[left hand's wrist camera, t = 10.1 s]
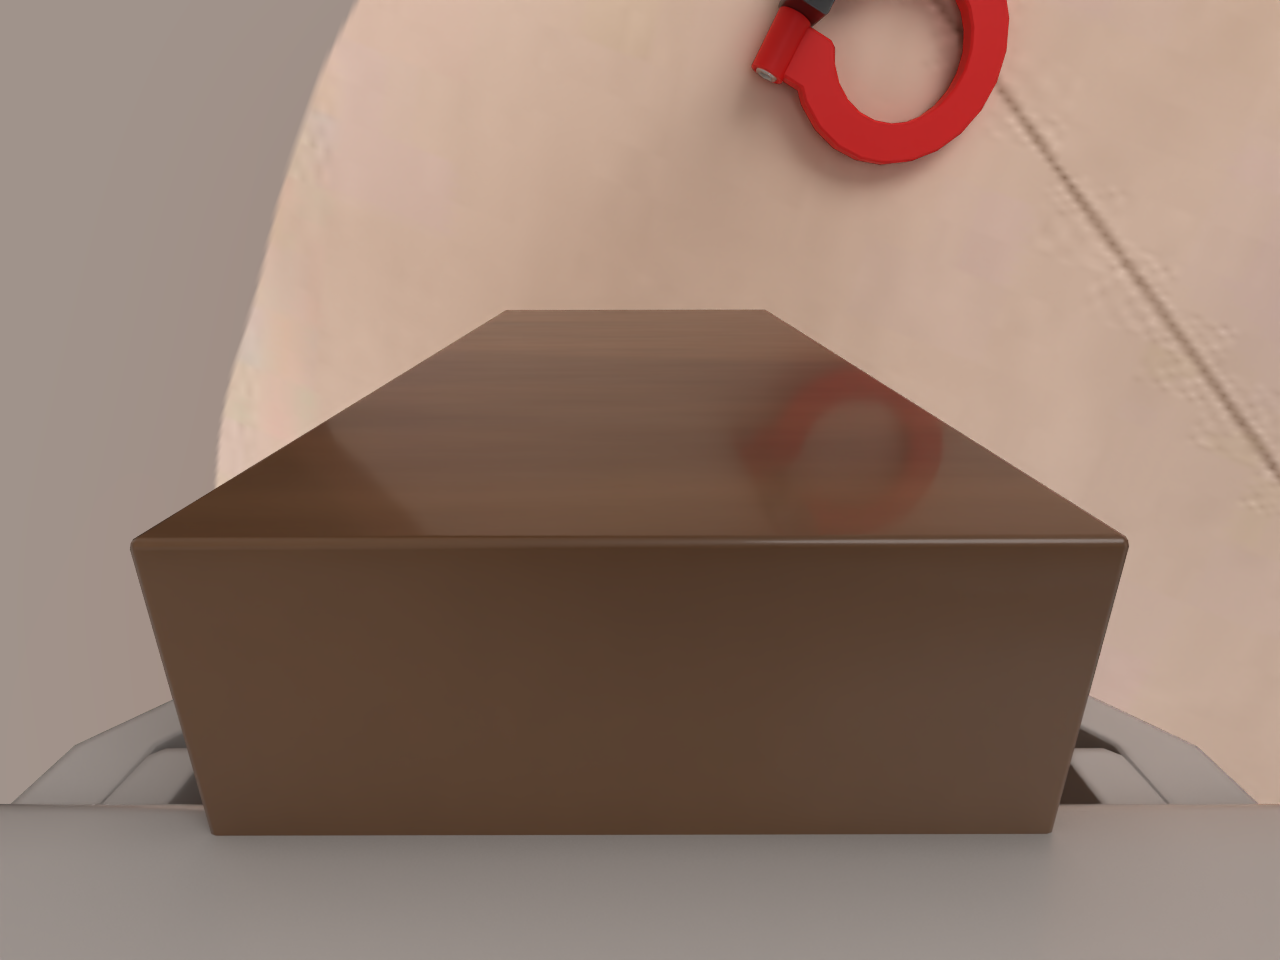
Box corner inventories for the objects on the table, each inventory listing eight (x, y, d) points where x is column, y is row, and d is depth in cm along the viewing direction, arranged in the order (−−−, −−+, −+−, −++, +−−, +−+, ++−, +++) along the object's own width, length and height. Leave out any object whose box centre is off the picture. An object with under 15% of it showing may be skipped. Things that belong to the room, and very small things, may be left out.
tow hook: (1035, 0, 28) (845, -137, 26) (1371, -162, 16) (1060, -441, 14) (915, 201, 30) (734, 91, 28) (1124, 195, 18) (833, 3, 16)
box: (504, 309, 15) (120, 540, 4) (766, 309, 15) (1136, 537, 4) (549, 976, 23) (462, 1719, 12) (726, 976, 23) (814, 1718, 12)
